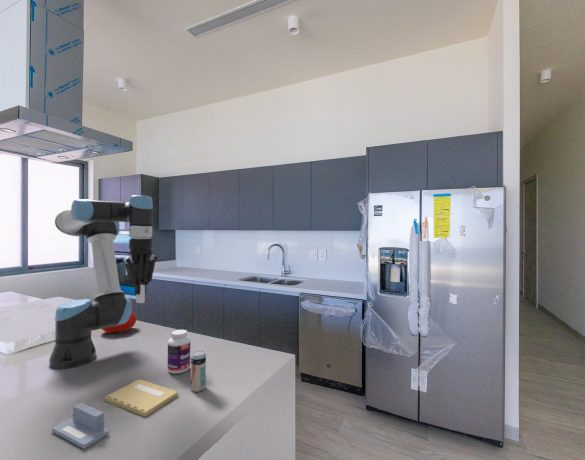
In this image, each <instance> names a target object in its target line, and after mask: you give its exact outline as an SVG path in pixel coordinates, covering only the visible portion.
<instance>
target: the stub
mask: <svg viewBox="0 0 585 460" xmlns="http://www.w3.org/2000/svg"><path fill="white" fill-rule="evenodd" d="M72 411H73V412H72V413H73V415H72V417H70V418H68V419H66V420H65V421H62V422H60V423H58V424H57V425H55V426H53V427H52V428H51V433H54V434H55V435H57V436H59V437H61V438H63V439H64V440H67V441H69V442H70V443H72V444H74V445H76V446H78V447H80V448H81V449H83V450H85V449H87V448H88V447H90V446H91V445H93V444H95V443H96V442H99V441H100V440H101V439H103V438H104V437H106V436H107V435H109V433H110V431H109V429H108V428H105V413H104V412H103V411H101V410H99V409H97V408H94V407H93V406H90V405H88V404H85V403H84V402H79V403H78V404H76V405H73V406H72Z"/></svg>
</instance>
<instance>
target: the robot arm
mask: <svg viewBox="0 0 585 460" xmlns="http://www.w3.org/2000/svg"><path fill="white" fill-rule="evenodd" d="M128 201H129V202H124V201H112V200H111V201H108V200H97V199H95V200H93V199H87V198H86V199H84V198H83V199H80V198H79V199H74V200H73V201H72V203H71V209H66V210H63V211H61V212H60V213H58V214H57V215H56V217H55V219H54V225H55V227H56V228H57V230H58V231H60V233H63V234H65V235H68V236H72V237H86V241H87V242H88V243H89V244H91V250H92V257H93V265H94V266H93V267H94V268H93V269H94V275H95V283H96V290H97V294H96V295H95V296H94V298H93V301H92V299H89V298H83V299H75V300H71V301H69V302H65V303H62V304H61V305H59V306H58V307H57V308H56V310H55V316H54V322H55V325H54V326H55V336H54V338H55V339H54V340H55V341H54V347H53V349H52V352H51V355H50V357H49V360H48V361H49V367H51V368H53V369H69V368H73V367H74V368H75V367H77V366H82V365H84V364H85V365H86V364H87V363H89V362H91V361H93V360H94V359H95V358H96V357H97V350H96V347H95V345H94V342H93V339H92V331H97V330H102V328H106V327H111V326H117V325H120V324H124V323H126V322H127V321H128V320H129V318H130V315H131V312H132V309H133V308H132V305H133V304H132V300H131V298H130V297H129V296H127V295H126V294H125V291H123V290H122V289H121V287H120V280H119V274H118V266H117V258H116V252H115V247H114V242H115V240H116V239H117V236H119V234H120V229H121V228H120V223H128V224H129V226H128V227H129V228H128V229H129V230H128V231H129V232H128V233H129V234H128V236H129V238H130V239H129V240H128V243H129V244H128V247H129V253H128V256H127V257H123V258H122V262H123V264H124V265H125V270H126V275H127V279H128V283H129V285H133V286H134V294H135V295H136V296H135V302H136V304H144V303H146V296H145V295H146V293H147V285H149V283H150V282H152V279H153V275H154V271H155V266H156V262H157V260H158V256H157V255H154V254H153V252H152V249H153V239H152V237H153V215H154V214H153V208H154V205H153V198H152V197H151V196H149V195H138V194H137V195H135V194H134V195H130V197H129V200H128Z"/></svg>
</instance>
